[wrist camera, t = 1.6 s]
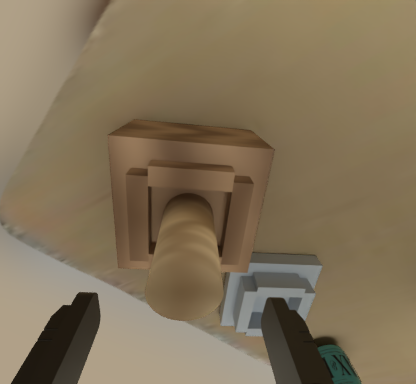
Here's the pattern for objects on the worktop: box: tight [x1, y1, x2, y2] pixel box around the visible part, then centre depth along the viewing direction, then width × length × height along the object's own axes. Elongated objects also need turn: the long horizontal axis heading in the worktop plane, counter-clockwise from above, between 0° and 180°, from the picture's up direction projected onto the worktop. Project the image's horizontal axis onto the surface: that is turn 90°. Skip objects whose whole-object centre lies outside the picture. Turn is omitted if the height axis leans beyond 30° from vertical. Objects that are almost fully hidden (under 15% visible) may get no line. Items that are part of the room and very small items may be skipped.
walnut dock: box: [108, 119, 275, 273], centre depth 22 cm, size 12×12×10 cm
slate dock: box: [219, 253, 323, 336], centre depth 32 cm, size 12×12×4 cm
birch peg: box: [145, 193, 224, 321], centre depth 16 cm, size 4×4×8 cm
